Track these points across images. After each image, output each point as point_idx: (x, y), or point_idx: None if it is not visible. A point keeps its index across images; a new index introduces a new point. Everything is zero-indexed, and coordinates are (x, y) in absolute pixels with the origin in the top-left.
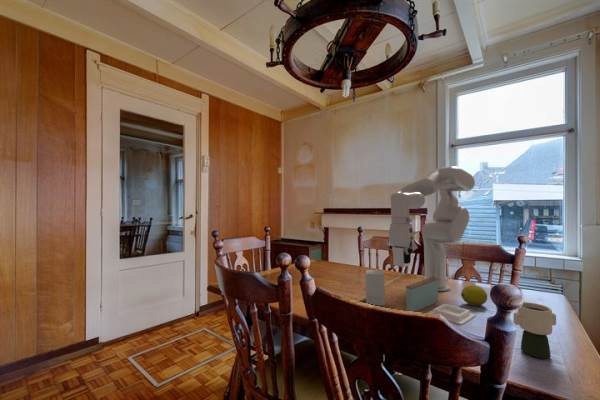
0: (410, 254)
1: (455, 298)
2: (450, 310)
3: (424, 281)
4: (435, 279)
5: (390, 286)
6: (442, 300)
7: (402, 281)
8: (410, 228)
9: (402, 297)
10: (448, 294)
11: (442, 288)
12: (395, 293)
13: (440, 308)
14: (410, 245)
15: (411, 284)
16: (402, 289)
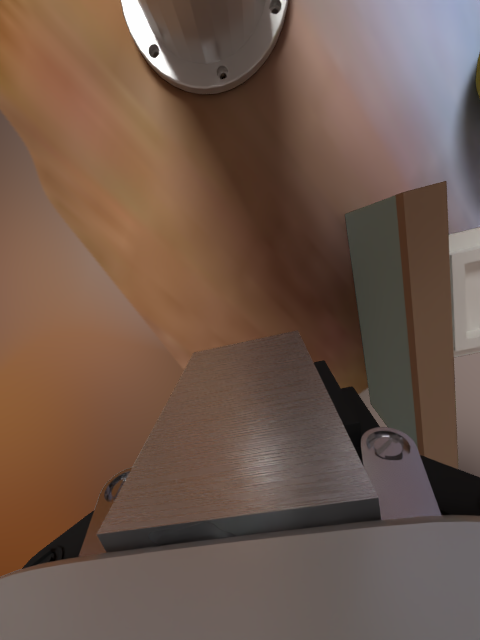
0: (386, 436)
1: (390, 72)
2: (473, 264)
3: (437, 339)
4: (445, 217)
5: (107, 249)
6: (370, 172)
7: (43, 112)
8: None
9: (254, 312)
10: (330, 46)
11: (271, 3)
12: (201, 302)
13: (463, 313)
14: (436, 540)
15: (427, 443)
16: (166, 228)
